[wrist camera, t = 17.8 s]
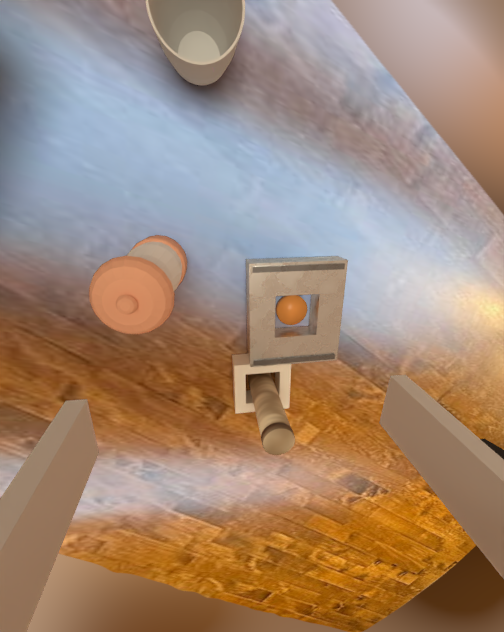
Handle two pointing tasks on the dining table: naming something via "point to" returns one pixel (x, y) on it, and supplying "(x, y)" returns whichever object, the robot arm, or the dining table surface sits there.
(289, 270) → the grey square frame
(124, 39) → the dining table surface
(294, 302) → the button
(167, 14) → the cup
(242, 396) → the holder
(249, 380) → the brown wooden cylinder
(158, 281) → the salt shaker
